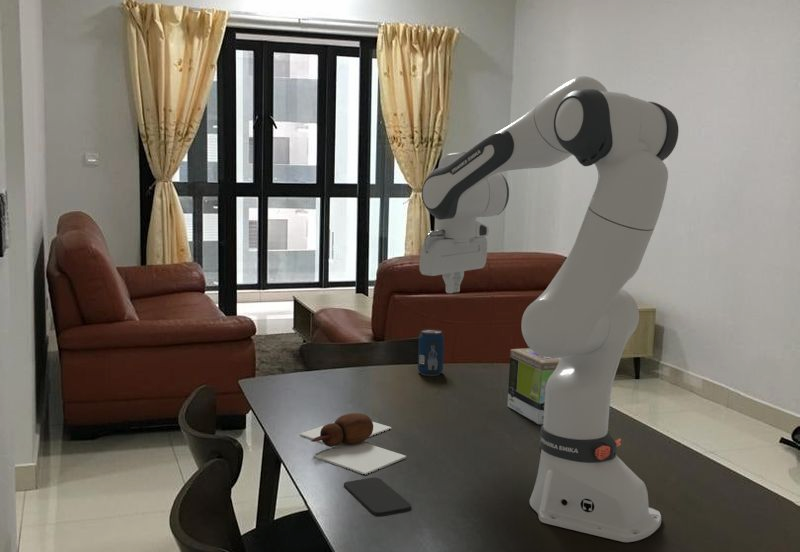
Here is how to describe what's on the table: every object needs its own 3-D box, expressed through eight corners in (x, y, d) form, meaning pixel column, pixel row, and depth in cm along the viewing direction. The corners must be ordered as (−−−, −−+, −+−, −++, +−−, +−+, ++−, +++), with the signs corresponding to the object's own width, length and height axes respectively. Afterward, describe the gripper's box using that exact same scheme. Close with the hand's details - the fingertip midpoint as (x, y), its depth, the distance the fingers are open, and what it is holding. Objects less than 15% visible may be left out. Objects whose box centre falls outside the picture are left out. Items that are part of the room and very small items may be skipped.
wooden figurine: (377, 416, 177) (318, 433, 168) (377, 441, 179) (318, 460, 169) (358, 406, 183) (299, 423, 173) (358, 431, 184) (299, 449, 175)
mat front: (391, 428, 189) (391, 427, 189) (338, 448, 176) (338, 446, 176) (353, 417, 196) (353, 415, 196) (299, 435, 183) (299, 433, 183)
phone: (377, 476, 161) (414, 506, 147) (377, 480, 161) (413, 511, 147) (341, 482, 157) (375, 513, 144) (341, 486, 157) (374, 518, 144)
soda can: (431, 368, 241) (432, 327, 239) (447, 374, 236) (449, 331, 234) (412, 372, 237) (413, 330, 235) (429, 377, 231) (430, 334, 230)
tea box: (575, 422, 198) (579, 360, 195) (537, 426, 194) (541, 363, 192) (541, 403, 211) (544, 345, 209) (505, 406, 208) (508, 347, 205)
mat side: (406, 457, 172) (406, 455, 171) (365, 475, 162) (365, 473, 162) (356, 441, 180) (356, 440, 180) (314, 457, 170) (314, 455, 170)
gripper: (437, 232, 172) (435, 300, 174) (493, 227, 188) (490, 289, 190) (413, 230, 176) (411, 296, 178) (469, 225, 192) (467, 285, 194)
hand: (452, 292), depth 184 cm, fingers closed
